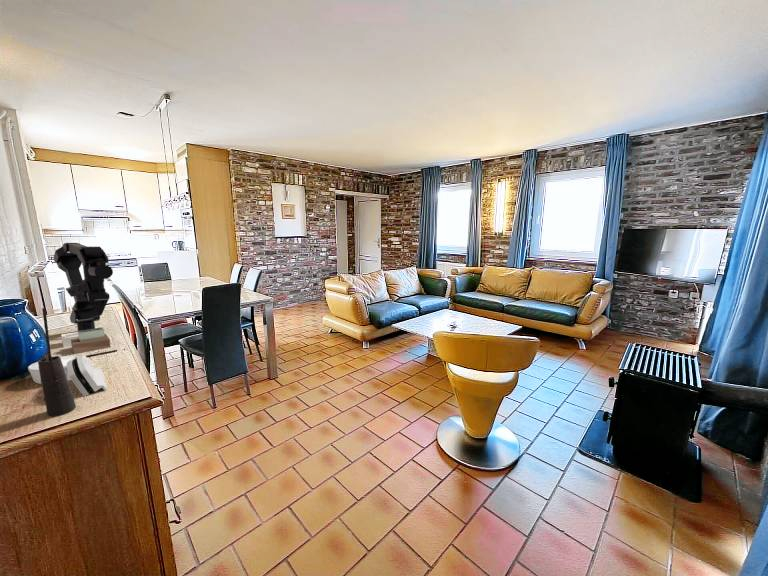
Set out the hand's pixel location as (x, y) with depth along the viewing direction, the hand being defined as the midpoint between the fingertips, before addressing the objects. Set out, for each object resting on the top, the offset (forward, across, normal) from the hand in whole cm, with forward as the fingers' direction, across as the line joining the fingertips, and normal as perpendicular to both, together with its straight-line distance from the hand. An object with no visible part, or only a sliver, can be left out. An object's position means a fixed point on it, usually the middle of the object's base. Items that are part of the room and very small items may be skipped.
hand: (98, 313), depth 130 cm
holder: (+12, +3, -7) cm, 14 cm away
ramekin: (+12, +36, -15) cm, 41 cm away
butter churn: (+12, +62, -16) cm, 65 cm away
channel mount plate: (+12, +14, -4) cm, 19 cm away
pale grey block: (+10, +14, -4) cm, 18 cm away
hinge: (+12, +49, -9) cm, 51 cm away
